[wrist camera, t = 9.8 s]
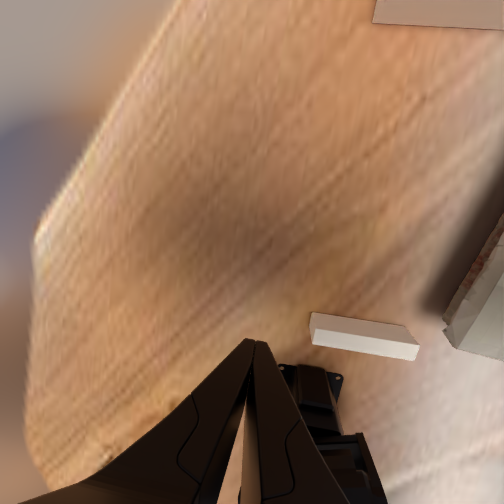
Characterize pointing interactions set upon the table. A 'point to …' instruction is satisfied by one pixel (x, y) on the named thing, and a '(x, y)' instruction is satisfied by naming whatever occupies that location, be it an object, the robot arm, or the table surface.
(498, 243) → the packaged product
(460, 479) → the table surface
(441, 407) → the table surface
